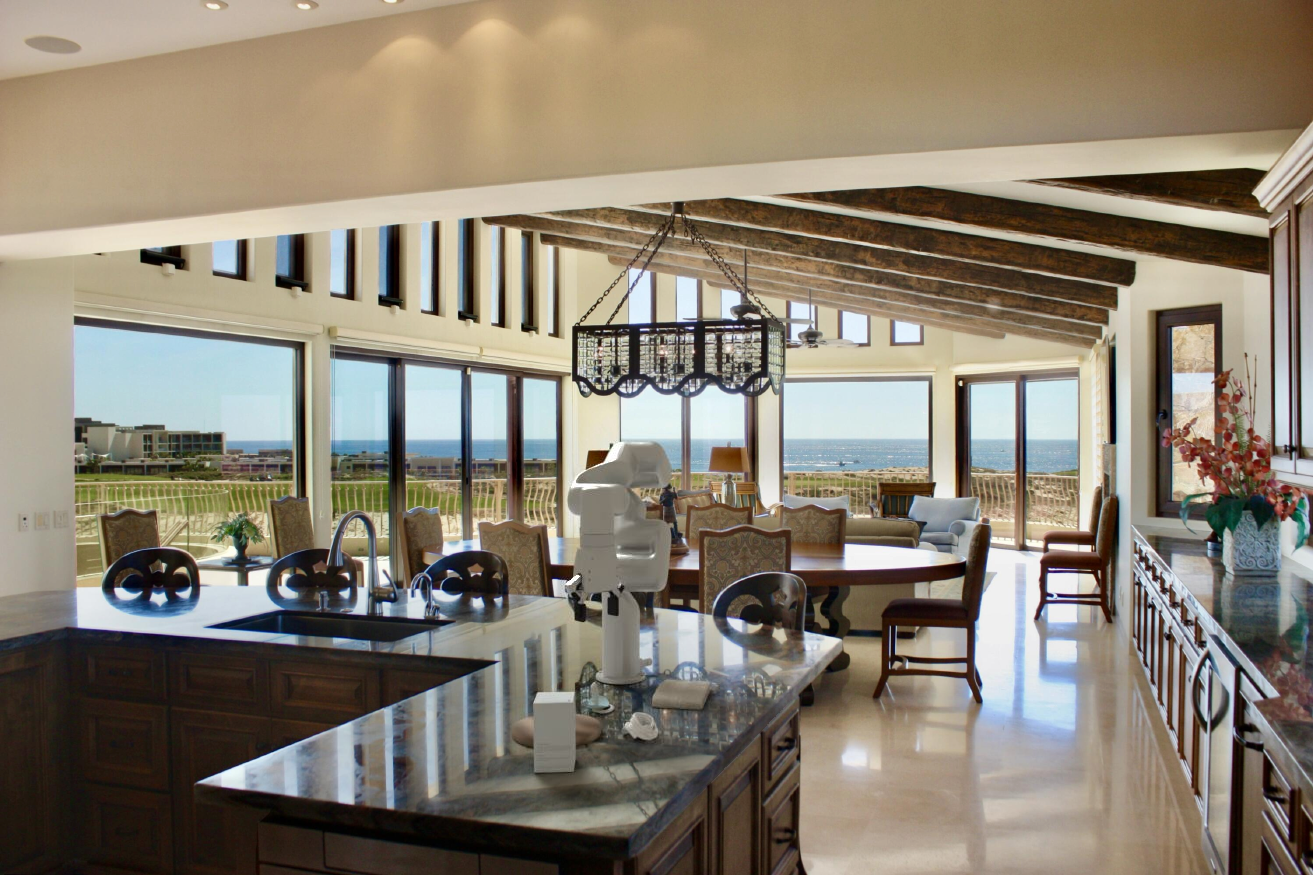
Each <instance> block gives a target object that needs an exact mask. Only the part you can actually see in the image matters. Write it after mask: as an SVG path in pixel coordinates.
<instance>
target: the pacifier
mask: <svg viewBox="0 0 1313 875" xmlns="http://www.w3.org/2000/svg"><path fill="white" fill-rule="evenodd" d="M590 692H591V695H592V697H590V698H589V700H588V702H587V703H588V705H586V706H585V707H586V708H587V709H591V712H593V713H598V714H608V713H611V712H613V711H614V710H615V707H614V705H613V704H611V703H610V701H609V700H608V698H607V697H605V696H603V695H600V690H599V686H598V684H597V682H596V681H594V682H592V684H591V685H590ZM605 708H606V709H605ZM607 708H608V709H607Z"/></svg>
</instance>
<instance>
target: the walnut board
mask: <svg viewBox="0 0 1313 875" xmlns="http://www.w3.org/2000/svg"><path fill="white" fill-rule="evenodd" d="M511 728H512V729H511V737H512V739H513V740H514V741H515V742H516V743H517V744H520V745H523V746H526V747H531V748H534V715H532V716H528V717H524V718H523V719H520V720H517V721H516V722H515V723H514V724H513V725H512V727H511ZM601 735H602V723H601V721H599V720H598V719H597V718H595V717H593V716H592V717H591V716H589V715H585V714H581V713H575V744H576V747H579V746H583V745H587V744H590V743H593V742H594V741H596V740H597V739H598V738H600V736H601Z"/></svg>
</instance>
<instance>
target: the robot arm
mask: <svg viewBox="0 0 1313 875" xmlns="http://www.w3.org/2000/svg"><path fill="white" fill-rule="evenodd" d="M671 465H672V464H671V463H670V460H669V457H668V455H667V453H666V451H665V449H664V447H663V446H662V445H661V444H660V443H658V442H657V441H652V440H651V441H650V440H643V441H642V440H641V441H640V440H626V441H625V440H623V441H619V442H616V443H615V444H614V445H613V446H612V447H610V449H609V451H608V453H607V455H606V457H605V459H604V460H603V462H601V463H598V464H596V465H595V466H592V467H590V468H588V469H585V470H584V471H582V472H580V473H579V474H576V477H575V478H574V480H573V481H572V484H570V487H569V490H568V493H567V500H566V501H567V507H568V510H569V511H570V512H571V513H572V514H573V515H575V516H578V517H579V519H580V520H579V527H580V528H579V532H580V533H579V534H580V535H579V547H577V548H576V552H575V558H574V563H573V576H572V578H571V580H569V581H567V583H565V585H564V587H565V591H566V593H567V596H568V597H569V599H570V600H571V602H572V603H573V605H574V607H573V608H574V609H573V610H574V611H573V612H574V613H573V615H574V616H573V617H574V621H575V622H579V623H585V622H586V621H587V605H586V603H585V601H586V599H587V597H588V596H589V595H595V594H601V612H602V613H601V616H602V618H601V628H602V629H601V633H602V634H601V646H602V647H601V652H602V653H601V670H599V671H598V672H595V679H596V680H597V681H599V682H601V683H603V684H608V685H609V684H610V685H628V684H629V685H630V684H637V683H640V682H643V681H644V680H646V678H647V674H646V671H643V669H644V668H645V667H650V666H652V665H653V663H654V662H653V659H652V658H651V657H648V658H644V659H643V658H641V657H640V654H641V653H640V652H641V649H640V645H641V644H640V639H641V638H640V633H641V632H640V626H641V625H640V622H641V620H640V619H641V618H640V615H641V612H640V606H639V604H638V602H637V600H636V599H635V597H634V596H633V595H632V593H634V592H641V593H642V592H645V593H646V592H647V593H650V592H651V593H655V592H660V591H661V592H662V590H664V589H665V588H666V585H667V583H668V577H669V576H668V575H669V569H670V568H669V566H670V556H671V549H672V532H671V528H670V526H669V524H668V522H666V521H665V520H663V519H658V518H655V519H654V518H652V519H651V518H647V519H646V516H647V506H646V504H645V502H644V501H643V499H641V497H640V496H639V495H638V494H637V493H636V492H634V490H633V489H663V488H666V487H668V485H670V482H671V480H672V466H671ZM631 592H632V593H631Z"/></svg>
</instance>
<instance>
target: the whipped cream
mask: <svg viewBox="0 0 1313 875" xmlns="http://www.w3.org/2000/svg"><path fill="white" fill-rule="evenodd" d="M654 719H655V718H653V717H652V716H651V715H650V714H649V713H646V712H639V711H638V712H634V713H633V714H632V716H631V718H630V719H629V721H626V723H624V726H623V727H622V729H621V731H620V733H621V735H627V734H630V736H631V737H632V738H633V739H637V738H639V739H641V740H645V741H651V740H653V739H656V738H657V737H658V735H659V729H658V727H657V723H656V721H655V720H654Z"/></svg>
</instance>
